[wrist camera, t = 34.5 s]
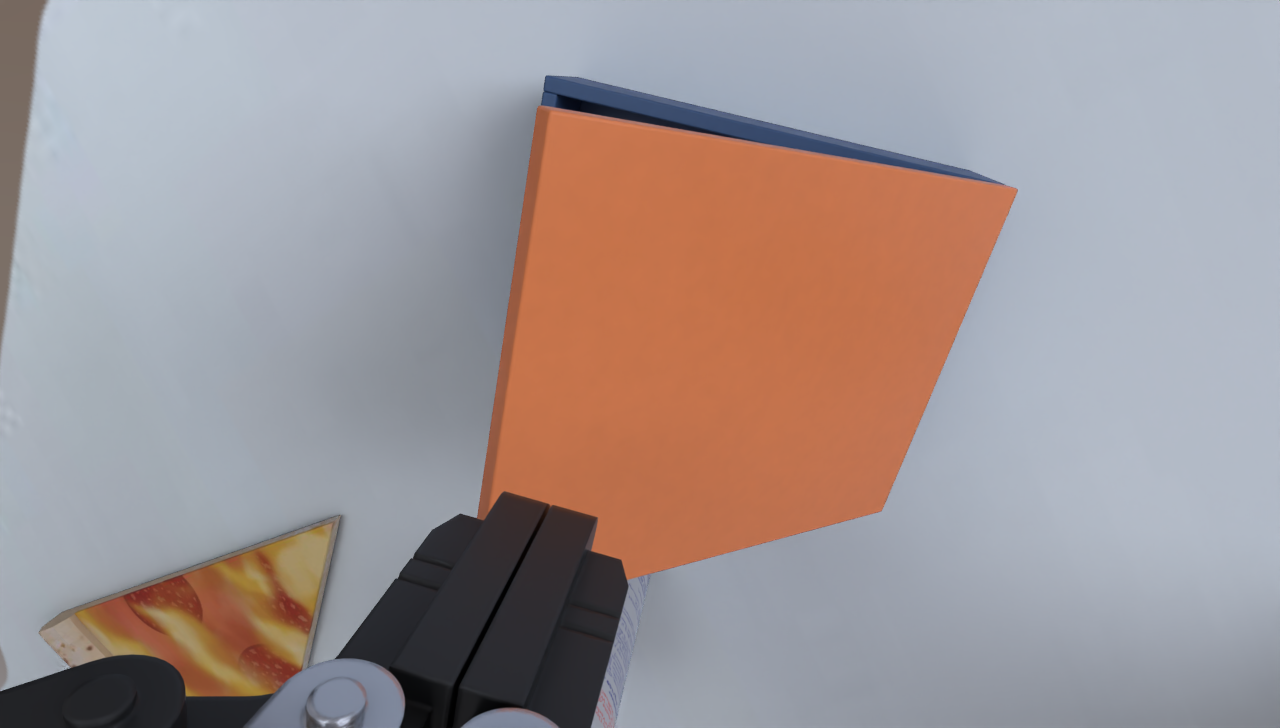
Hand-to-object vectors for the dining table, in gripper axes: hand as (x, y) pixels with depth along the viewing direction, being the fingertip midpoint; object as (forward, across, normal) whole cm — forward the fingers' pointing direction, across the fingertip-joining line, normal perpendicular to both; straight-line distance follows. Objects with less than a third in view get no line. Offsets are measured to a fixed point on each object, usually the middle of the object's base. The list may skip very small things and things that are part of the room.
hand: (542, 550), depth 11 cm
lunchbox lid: (+10, -3, 0) cm, 10 cm away
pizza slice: (+19, +18, +30) cm, 40 cm away
